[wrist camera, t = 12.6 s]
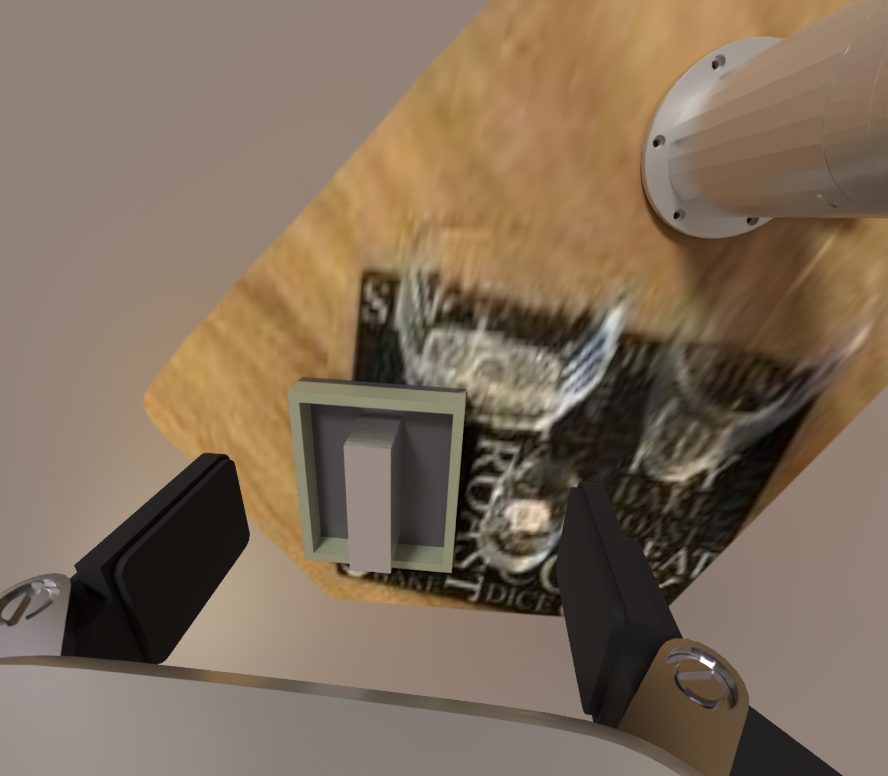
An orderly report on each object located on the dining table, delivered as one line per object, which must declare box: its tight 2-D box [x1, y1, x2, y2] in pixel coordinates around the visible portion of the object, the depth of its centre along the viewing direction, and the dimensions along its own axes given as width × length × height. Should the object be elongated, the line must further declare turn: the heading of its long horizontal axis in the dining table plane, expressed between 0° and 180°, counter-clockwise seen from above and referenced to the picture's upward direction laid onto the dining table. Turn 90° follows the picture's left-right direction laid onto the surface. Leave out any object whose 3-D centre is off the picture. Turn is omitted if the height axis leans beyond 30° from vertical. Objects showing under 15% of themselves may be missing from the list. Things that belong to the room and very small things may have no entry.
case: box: [287, 377, 466, 573], centre depth 42 cm, size 16×20×4 cm
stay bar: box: [343, 414, 402, 573], centre depth 40 cm, size 4×14×6 cm, turn 177°
